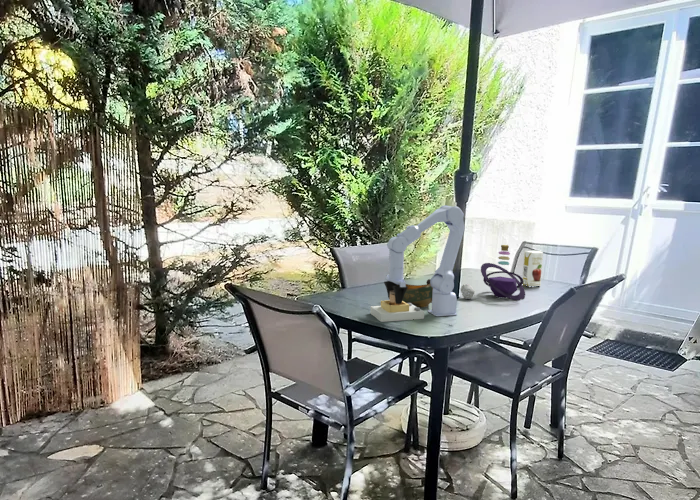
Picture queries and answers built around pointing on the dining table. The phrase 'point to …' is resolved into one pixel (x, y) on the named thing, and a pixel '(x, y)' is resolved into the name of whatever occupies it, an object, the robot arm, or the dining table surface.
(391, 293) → the copper can
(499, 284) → the decorative bottle
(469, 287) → the white bumpy ball
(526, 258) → the juice carton
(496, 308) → the dining table surface
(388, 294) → the robot arm
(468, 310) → the dining table surface
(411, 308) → the tray with yellow box
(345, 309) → the dining table surface
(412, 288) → the green brown bowl
